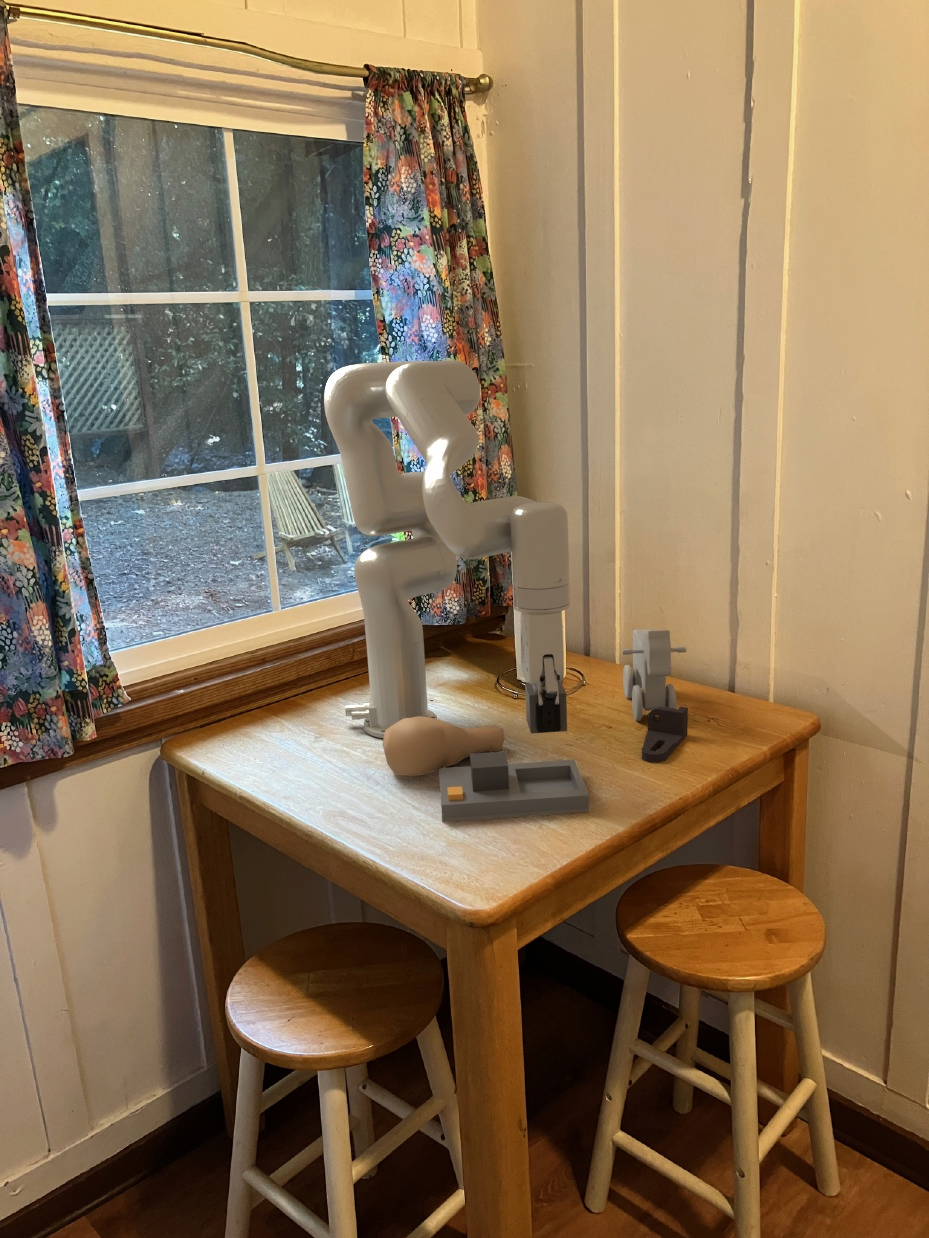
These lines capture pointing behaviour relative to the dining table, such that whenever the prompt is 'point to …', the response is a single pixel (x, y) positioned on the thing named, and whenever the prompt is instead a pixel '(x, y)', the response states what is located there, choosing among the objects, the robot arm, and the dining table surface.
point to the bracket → (664, 733)
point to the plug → (533, 700)
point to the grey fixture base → (510, 789)
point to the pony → (650, 671)
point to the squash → (435, 744)
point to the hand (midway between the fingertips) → (545, 722)
